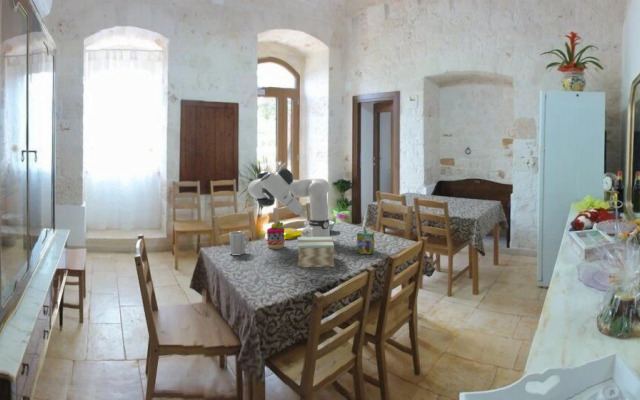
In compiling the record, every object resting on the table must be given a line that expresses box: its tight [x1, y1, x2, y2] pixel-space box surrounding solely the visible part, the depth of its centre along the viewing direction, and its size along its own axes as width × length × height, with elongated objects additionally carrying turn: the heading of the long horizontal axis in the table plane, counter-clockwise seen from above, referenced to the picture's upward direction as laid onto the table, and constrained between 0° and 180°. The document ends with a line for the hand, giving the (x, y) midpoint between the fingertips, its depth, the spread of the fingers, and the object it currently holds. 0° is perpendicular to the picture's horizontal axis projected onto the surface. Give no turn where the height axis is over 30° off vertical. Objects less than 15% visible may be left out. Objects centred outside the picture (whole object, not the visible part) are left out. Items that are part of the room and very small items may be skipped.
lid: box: [297, 236, 335, 249], centre depth 244 cm, size 18×20×1 cm
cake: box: [266, 221, 286, 250], centre depth 278 cm, size 10×11×15 cm
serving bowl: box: [303, 220, 335, 232], centre depth 322 cm, size 21×21×7 cm
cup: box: [228, 231, 249, 255], centre depth 263 cm, size 10×9×12 cm
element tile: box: [283, 227, 302, 240], centre depth 308 cm, size 15×15×5 cm
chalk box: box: [356, 226, 375, 255], centre depth 264 cm, size 9×9×15 cm
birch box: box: [297, 247, 335, 268], centre depth 245 cm, size 18×20×10 cm
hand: (306, 216), depth 242 cm, fingers closed
